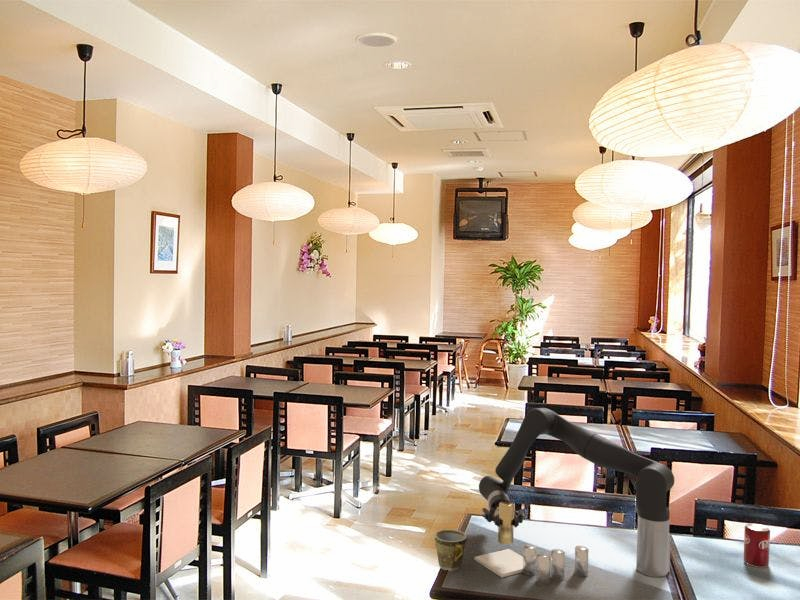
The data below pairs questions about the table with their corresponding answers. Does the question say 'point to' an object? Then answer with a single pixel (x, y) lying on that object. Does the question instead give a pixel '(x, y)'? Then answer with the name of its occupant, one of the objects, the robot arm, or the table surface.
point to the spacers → (553, 563)
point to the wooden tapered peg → (506, 523)
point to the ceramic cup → (450, 548)
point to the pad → (502, 562)
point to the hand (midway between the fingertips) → (507, 524)
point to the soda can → (756, 545)
